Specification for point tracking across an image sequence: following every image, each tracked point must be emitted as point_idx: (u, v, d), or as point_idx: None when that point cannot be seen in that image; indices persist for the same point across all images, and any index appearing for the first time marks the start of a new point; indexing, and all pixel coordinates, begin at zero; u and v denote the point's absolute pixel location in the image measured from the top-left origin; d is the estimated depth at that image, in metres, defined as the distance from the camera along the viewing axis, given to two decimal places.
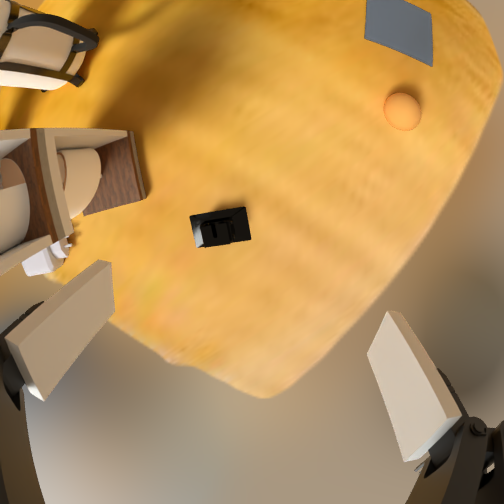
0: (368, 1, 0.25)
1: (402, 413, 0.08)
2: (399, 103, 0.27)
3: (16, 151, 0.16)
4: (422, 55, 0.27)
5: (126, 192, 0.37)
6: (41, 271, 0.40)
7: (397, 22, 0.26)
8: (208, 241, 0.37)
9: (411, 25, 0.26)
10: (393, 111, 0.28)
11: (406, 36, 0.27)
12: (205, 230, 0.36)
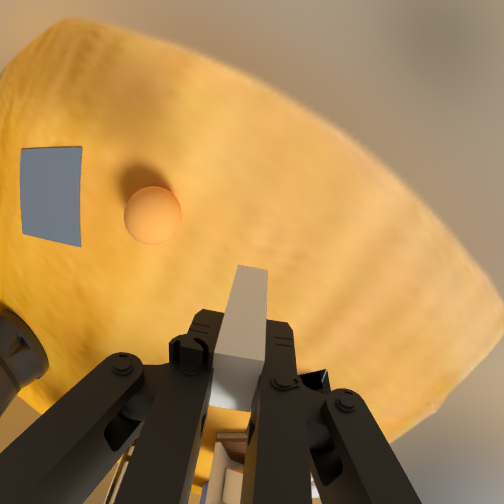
0: (38, 235, 0.29)
1: None
2: (139, 238, 0.23)
3: None
4: (73, 164, 0.25)
5: None
6: None
7: (47, 201, 0.27)
8: None
9: (42, 180, 0.26)
10: (154, 243, 0.24)
11: (58, 187, 0.26)
12: None
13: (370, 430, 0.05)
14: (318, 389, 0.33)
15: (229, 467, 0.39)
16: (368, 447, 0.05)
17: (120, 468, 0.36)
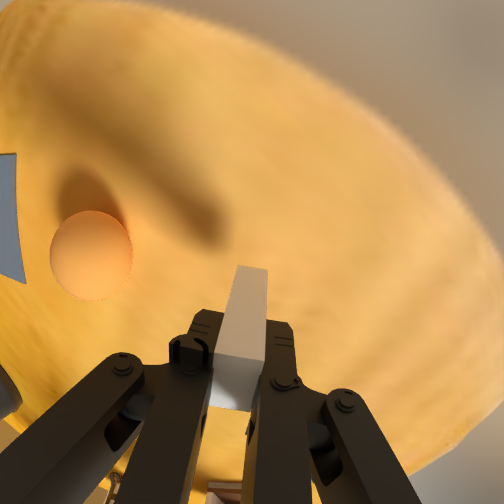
0: None
1: None
2: (70, 294, 0.13)
3: None
4: (7, 178, 0.16)
5: None
6: None
7: None
8: None
9: None
10: (93, 300, 0.14)
11: None
12: None
13: (369, 430, 0.05)
14: None
15: None
16: (368, 447, 0.05)
17: None
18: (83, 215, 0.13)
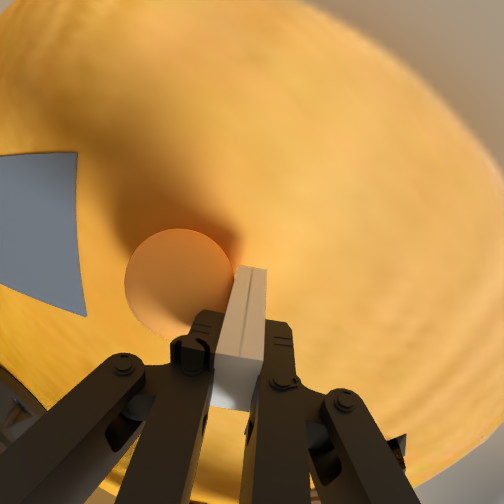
0: (20, 290, 0.18)
1: None
2: (143, 325, 0.12)
3: None
4: (62, 184, 0.14)
5: None
6: None
7: (26, 242, 0.16)
8: None
9: (17, 207, 0.15)
10: (170, 338, 0.12)
11: (40, 221, 0.15)
12: None
13: (368, 430, 0.05)
14: (396, 455, 0.22)
15: None
16: (367, 447, 0.05)
17: None
18: (172, 234, 0.12)
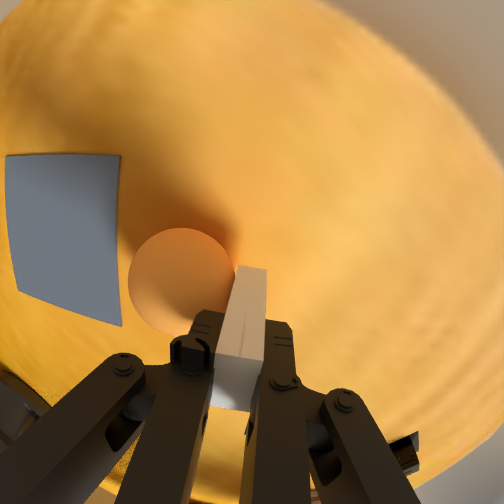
0: (43, 298, 0.18)
1: None
2: None
3: None
4: (101, 188, 0.15)
5: None
6: None
7: (53, 248, 0.16)
8: (413, 471, 0.21)
9: (43, 211, 0.15)
10: (162, 332, 0.13)
11: (72, 227, 0.16)
12: None
13: (368, 430, 0.05)
14: (410, 451, 0.22)
15: None
16: (367, 447, 0.05)
17: None
18: (172, 232, 0.12)
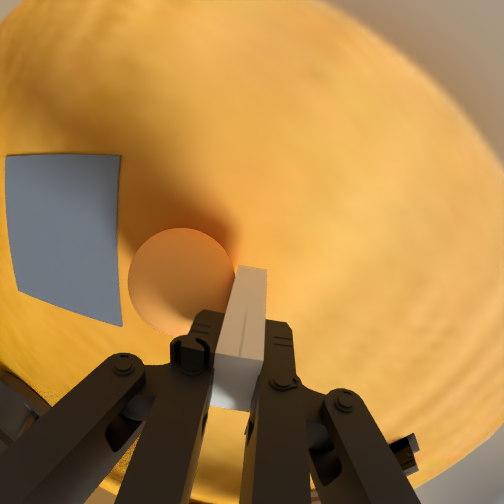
0: (43, 298, 0.18)
1: None
2: None
3: None
4: (101, 188, 0.15)
5: None
6: None
7: (54, 248, 0.16)
8: (413, 472, 0.21)
9: (43, 211, 0.15)
10: None
11: (72, 226, 0.16)
12: None
13: (369, 430, 0.05)
14: (407, 453, 0.22)
15: None
16: (367, 447, 0.05)
17: None
18: (172, 232, 0.12)
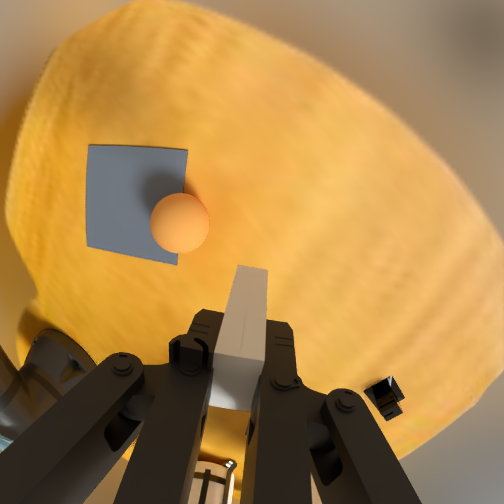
0: (111, 249, 0.29)
1: None
2: None
3: None
4: (173, 170, 0.25)
5: None
6: None
7: (130, 210, 0.27)
8: (397, 413, 0.31)
9: (124, 184, 0.26)
10: None
11: (148, 195, 0.27)
12: (388, 418, 0.32)
13: (369, 430, 0.05)
14: (388, 394, 0.33)
15: None
16: (368, 447, 0.05)
17: None
18: (175, 193, 0.24)
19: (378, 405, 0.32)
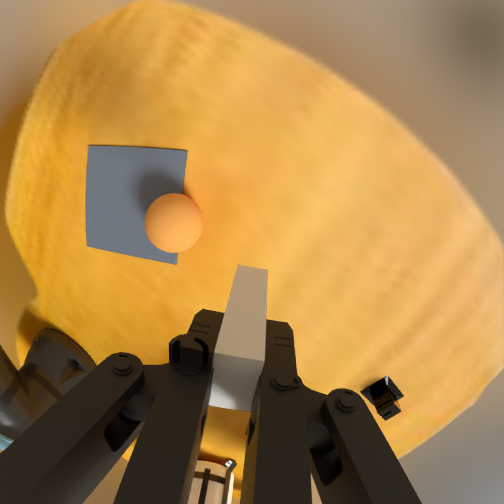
0: (111, 249, 0.29)
1: None
2: None
3: None
4: (173, 170, 0.26)
5: None
6: None
7: (130, 210, 0.27)
8: (395, 412, 0.32)
9: (124, 184, 0.26)
10: None
11: (147, 195, 0.27)
12: (387, 417, 0.32)
13: (370, 430, 0.05)
14: (385, 394, 0.33)
15: None
16: (368, 447, 0.05)
17: None
18: None
19: (375, 405, 0.33)
